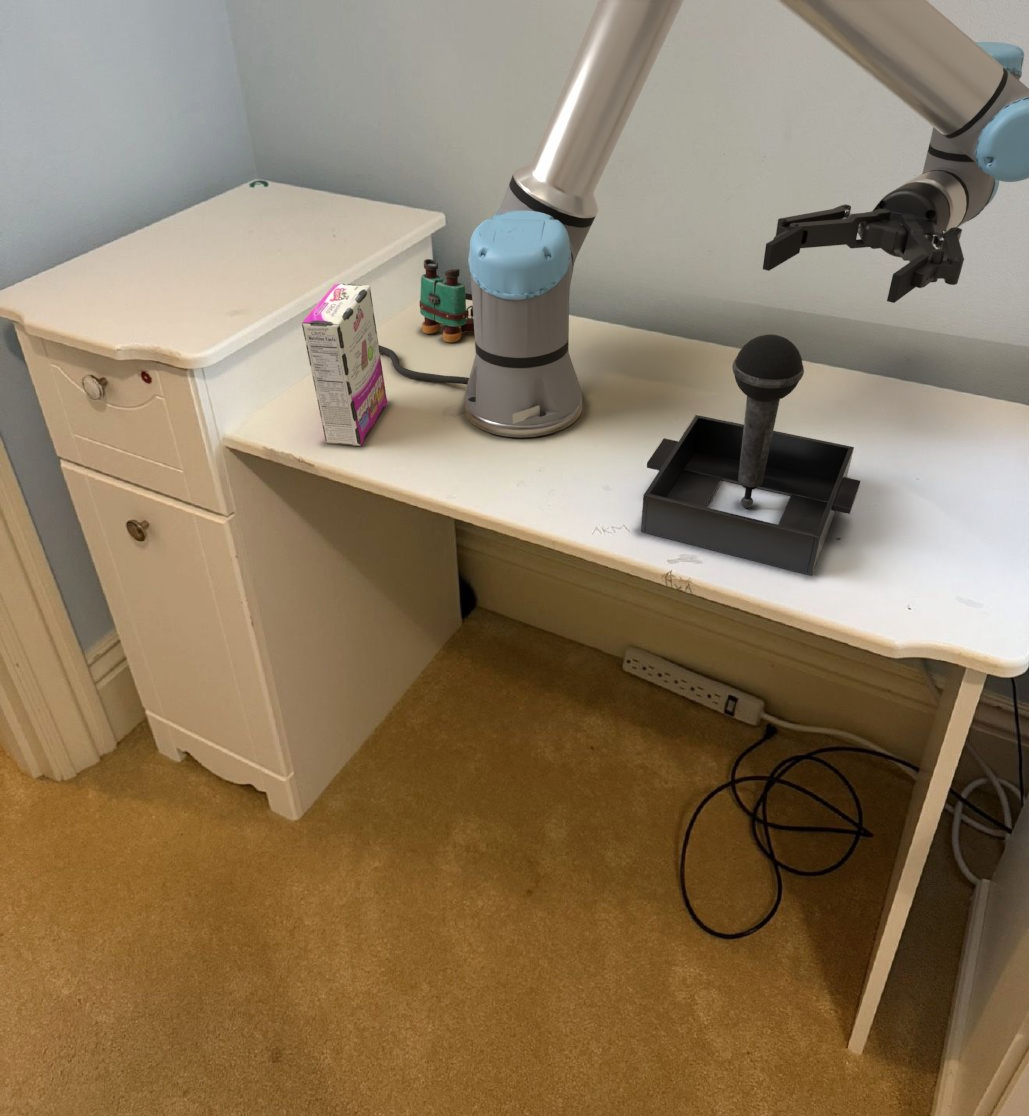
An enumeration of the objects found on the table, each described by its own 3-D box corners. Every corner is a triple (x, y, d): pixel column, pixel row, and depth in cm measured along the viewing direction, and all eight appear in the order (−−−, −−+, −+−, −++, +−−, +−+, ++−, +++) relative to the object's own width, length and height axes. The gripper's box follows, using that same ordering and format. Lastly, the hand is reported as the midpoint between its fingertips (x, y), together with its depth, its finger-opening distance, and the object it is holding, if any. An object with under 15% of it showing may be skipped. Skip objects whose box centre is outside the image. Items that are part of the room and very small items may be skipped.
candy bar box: (352, 401, 122) (333, 282, 112) (388, 404, 121) (372, 284, 111) (322, 445, 113) (299, 320, 103) (360, 448, 112) (340, 322, 102)
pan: (624, 527, 98) (626, 490, 95) (677, 446, 111) (681, 411, 108) (830, 580, 90) (839, 542, 87) (862, 486, 103) (871, 450, 100)
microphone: (737, 532, 97) (764, 359, 85) (702, 498, 102) (722, 331, 90) (791, 515, 99) (824, 344, 87) (754, 483, 104) (780, 317, 92)
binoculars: (500, 261, 133) (450, 275, 127) (497, 331, 139) (450, 347, 133) (457, 247, 138) (407, 260, 132) (456, 315, 144) (409, 330, 138)
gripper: (1021, 273, 99) (942, 340, 87) (810, 226, 113) (716, 279, 101) (1044, 202, 94) (963, 263, 82) (821, 162, 108) (724, 210, 96)
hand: (827, 272), depth 91 cm, fingers open, 13 cm apart
